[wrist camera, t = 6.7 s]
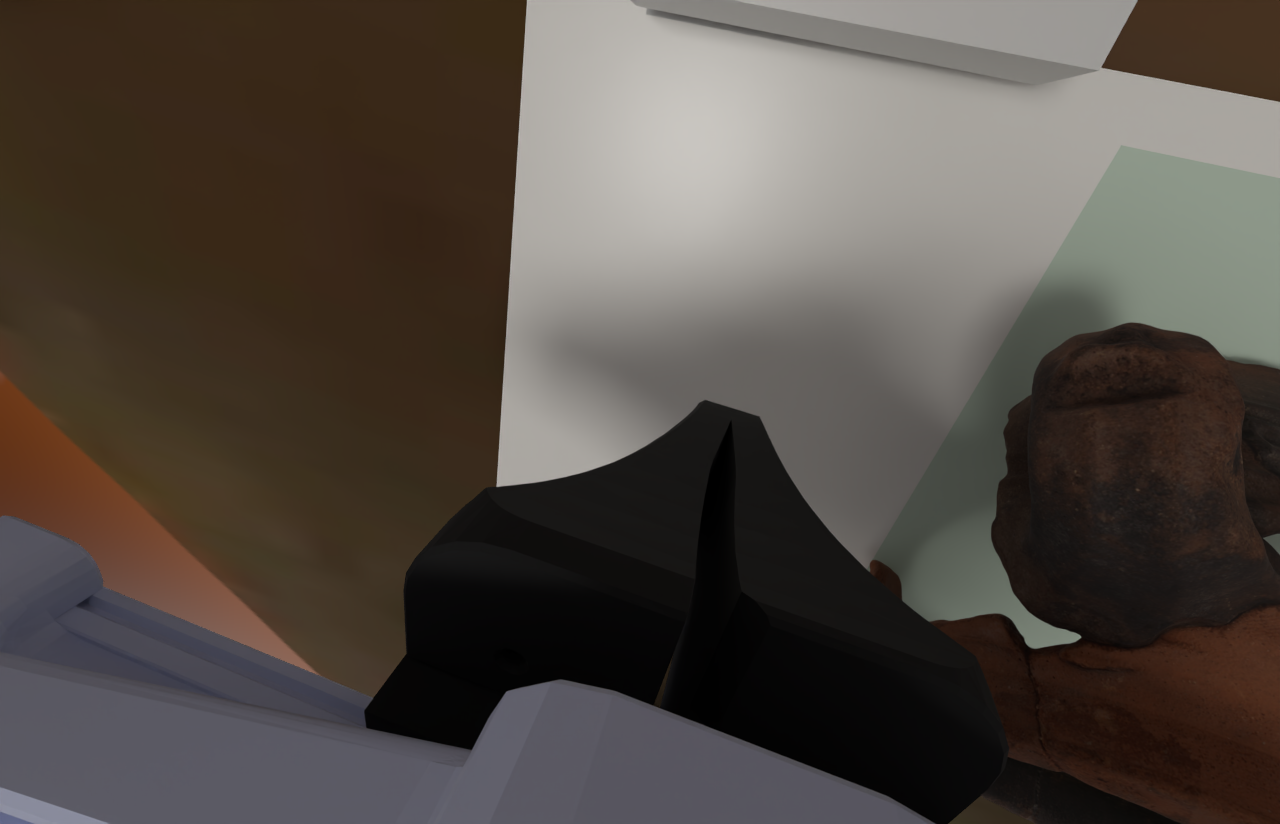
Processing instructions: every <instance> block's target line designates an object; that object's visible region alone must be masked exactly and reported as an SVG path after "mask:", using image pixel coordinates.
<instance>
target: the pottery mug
mask: <svg viewBox="0 0 1280 824" xmlns="http://www.w3.org/2000/svg"><path fill="white" fill-rule="evenodd" d="M1008 419H1009V420H1008V423H1007V425H1006V426H1005V428H1004V431H1003V435H1004V439H1005V446H1006V450H1007V452H1006V457H1005V459H1006V463H1007V475H1006V476H1005V477H1004V478H1003V479H1002V480H1001V481H1000V482H999V484H998V490H997V497H996V498H997V507H996V517H995V519H994V521H993V523H992V526H991V540H992V543H993V547H994V549H995V551H996V553H997V554H998V556H999V558H1000V560H1001V562H1002V565H1003V567H1004V569H1005V571H1006V573H1007V575H1008V578H1009V582H1010V585H1011V588H1012V591H1013V593H1014V595H1015V596H1016V597H1017V598H1018V600H1019V601H1020V602H1021V604H1022V605H1023V606H1024V607H1025V608H1026V610H1027V611H1028V612H1029V613H1031V614H1032V615H1033V616H1035V617H1036V618H1038V619H1040V620H1041V621H1043V622H1045V623H1047V624H1049V625H1051V626H1053V627H1056V628H1060V629H1065V630H1068V631H1070V632H1074V633H1077V634H1079V635H1080V636H1081V638H1080V639H1079V640H1077V641H1076V642H1073V643H1069V644H1060V645H1053V646H1048V647H1042V648H1037V649H1034V648H1031V647H1029V646H1028V645H1027V644H1026V643H1025V639H1024V637H1023V636H1022V635H1021V634H1020V632H1019V631H1018V629H1017V627H1016V625H1015V624H1014V622H1013V621H1012V620H1011V619H1010V618H1008V617H1007V616H1005V615H1003V614H998V613H992V614H984V615H978V616H974V617H971V618H964V619H959V620H954V621H948V620H942V619H941V620H935V621H930V623H931V624H933V625H934V626H936V627H937V628H938V629H940V630H941V631H942V632H944V633H945V634H946V635H948V636H949V637H950V638H952V639H953V640H955V641H956V642H957V643H959V644H960V645H961V646H963V647H964V648H965V649H967V650H968V651H969V652H971V653H972V654H974V655H975V656H976V658H977V660H978V662H979V665H980V667H981V669H982V671H983V674H984V676H985V679H986V681H987V684H988V686H989V689H990V691H991V694H992V697H993V700H994V703H995V705H996V708H997V711H998V714H999V717H1000V719H1001V722H1002V725H1003V728H1004V732H1005V735H1006V739H1007V742H1008V746H1009V752H1008V757H1007V762H1006V767H1005V769H1004V770H1003V772H1002V773H1001V774H1000V776H999V777H998V778H997V779H996V781H995V782H994V783H993V784H992V786H991V787H990V788H989V789H988V790H986V791H985V792H984V793H983V794H982V795H981V796H982V797H984V798H985V799H987V800H989V801H991V802H994V803H996V804H997V805H999V806H1001V807H1003V808H1005V809H1006V810H1008V811H1010V812H1012V813H1014V814H1016V815H1018V816H1021V817H1023V818H1025V819H1027V820H1030V821H1032V822H1034V823H1036V824H1280V555H1279V553H1278V552H1277V551H1276V550H1275V549H1274V548H1273V547H1272V546H1271V545H1270V544H1269V543H1268V542H1267V541H1266V540H1265V539H1263V538H1265V537H1268V536H1271V535H1275V534H1280V369H1276V368H1272V367H1267V366H1263V365H1257V364H1244V363H1239V362H1235V361H1231V360H1226V359H1225V358H1224V357H1223V356H1222V355H1221V354H1220V353H1219V352H1218V351H1217V349H1216V348H1215V347H1214V346H1213V345H1212V344H1211V343H1210V342H1209V341H1207V340H1205V339H1203V338H1202V337H1199V336H1196V335H1193V334H1189V333H1184V332H1178V331H1170V330H1164V329H1160V328H1156V327H1153V326H1150V325H1146V324H1142V323H1134V322H1130V323H1125V324H1121V325H1118V326H1116V327H1113V328H1110V329H1107V330H1103V331H1098V332H1091V333H1084V334H1078V335H1075V336H1073V337H1071V338H1069V339H1067V340H1066V341H1065V342H1063V343H1062V344H1061V345H1060V346H1058V347H1057V348H1055V349H1053V350H1052V351H1050V352H1049V353H1048V354H1046V355H1045V356H1044V357H1043V358H1042V360H1041V361H1040V363H1039V365H1038V367H1037V369H1036V371H1035V373H1034V377H1033V384H1032V394H1031V395H1029V396H1028V397H1026V398H1025V399H1024V400H1022V401H1021V402H1019V403H1018V404H1016V405H1015V406H1014V407H1012V408H1011V409H1010V411H1009V413H1008ZM870 573H871V574H872V575H873V576H874V577H876V578H877V579H878V580H879V581H880V582H881V583H882V584H883V585H884V586H886V587H887V588H888V589H889V590H890V591H892V592H893V593H894V594H895V595H896V596H897V597H899V598H900V599H901V600H902V585H901V581H900V578H899V576H898V575H897V574H896V573H895V572H894V571H893V570H892V569H891V568H889V567H888V566H887V565H885V564H883V563H882V562H880V561H878V560H872V561H871V562H870Z"/></svg>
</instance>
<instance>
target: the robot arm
mask: <svg viewBox="0 0 1280 824" xmlns="http://www.w3.org/2000/svg"><path fill="white" fill-rule="evenodd" d="M404 611H405V632H406V652H407V654H406V655H405V657H404V658H403V659H402V661H401V662H400V663H399V665H398V666H397V667H396V669H395V670H394V671H393V673H392V674H391V675H390V677H389V678H388V679H387V681H386V682H385V683H384V685H383V686H382V687H381V689H380V690H379V691H378V693H377V694H376V695H375V697H374V698H372V697H370V696H367V695H365V694H362V693H360V692H358V691H355V690H353V689H350V688H348V687H346V686H343V685H341V684H338V683H336V682H333V681H331V680H329V679H326V678H324V677H321V676H319V675H316V674H314V673H312V672H309V671H307V670H304V669H302V668H299V667H297V666H294V665H292V664H290V663H287V662H285V661H282V660H280V659H278V658H275V657H273V656H270V655H268V654H265V653H263V652H260V651H258V650H255V649H253V648H251V647H249V646H246V645H243V644H241V643H239V642H236V641H234V640H231V639H229V638H227V637H224V636H222V635H219V634H217V633H215V632H212V631H210V630H207V629H205V628H202V627H200V626H198V625H195V624H193V623H190V622H188V621H185V620H183V619H181V618H178V617H176V616H173V615H171V614H168V613H166V612H163V611H161V610H158V609H156V608H154V607H151V606H149V605H147V604H144V603H142V602H139V601H137V600H135V599H132V598H130V597H127V596H125V595H122V594H120V593H117V592H115V591H113V590H110V589H108V588H105V587H103V579H102V576H101V573H100V570H99V568H98V566H97V564H96V562H95V561H94V559H93V558H92V557H91V555H90V554H89V553H88V552H87V551H86V550H85V549H84V548H83V547H81V546H80V545H79V544H77V543H76V542H74V541H72V540H70V539H69V538H66V537H64V536H61V535H59V534H56V533H54V532H51V531H49V530H46V529H44V528H42V527H39V526H37V525H34V524H32V523H29V522H27V521H24V520H22V519H19V518H17V517H13V516H2V517H0V824H948V823H949V822H950V821H952V820H953V819H954V818H955V817H956V816H957V815H959V814H960V813H961V812H962V811H963V810H964V809H966V808H967V807H968V806H969V805H970V804H971V803H973V802H974V801H975V800H976V799H977V798H978V797H979V796H981V795H982V794H983V793H984V792H985V791H986V790H988V789H989V788H990V787H991V786H992V784H993V783H994V782H995V781H996V779H997V778H998V777H999V776H1000V774H1001V773H1002V772H1003V770H1004V769H1005V767H1006V762H1007V757H1008V752H1009V746H1008V742H1007V739H1006V735H1005V732H1004V728H1003V725H1002V722H1001V719H1000V717H999V714H998V711H997V708H996V705H995V703H994V700H993V697H992V694H991V691H990V689H989V686H988V684H987V681H986V679H985V676H984V674H983V671H982V669H981V667H980V665H979V662H978V660H977V658H976V656H975V655H974V654H972V653H971V652H969V651H968V650H967V649H965V648H964V647H963V646H961V645H960V644H959V643H957V642H956V641H955V640H953V639H952V638H950V637H949V636H948V635H946V634H945V633H944V632H942V631H941V630H940V629H938V628H937V627H936V626H934V625H933V624H931V623H930V622H929V621H927V620H926V619H925V618H923V617H922V616H921V615H919V614H918V613H917V612H915V611H914V610H913V609H912V608H910V607H909V606H908V605H907V604H906V603H904V602H903V601H902V600H901V599H900V598H899V597H897V596H896V595H895V594H894V593H893V592H892V591H890V590H889V589H888V588H887V587H886V586H884V585H883V584H882V583H881V582H880V581H879V580H878V579H877V578H876V577H874V576H873V575H872V574H871V573H870V572H869V571H868V570H867V569H866V568H865V567H864V566H863V565H862V564H861V563H860V562H859V561H858V560H857V559H856V558H855V557H854V556H853V555H852V554H851V553H850V552H849V551H848V550H847V549H846V548H845V547H844V546H843V545H842V544H841V543H840V542H839V541H838V540H837V539H836V537H835V536H834V535H833V534H832V533H831V532H830V531H829V530H828V528H827V527H826V526H825V525H824V523H823V522H822V521H821V520H820V518H819V517H818V516H817V515H816V514H815V512H814V511H813V510H812V509H811V507H810V506H809V504H808V503H807V502H806V500H805V499H804V498H803V496H802V495H801V493H800V492H799V490H798V488H797V487H796V485H795V484H794V482H793V481H792V479H791V478H790V476H789V474H788V473H787V471H786V469H785V467H784V466H783V464H782V462H781V460H780V458H779V456H778V454H777V452H776V450H775V448H774V446H773V444H772V442H771V440H770V438H769V436H768V433H767V431H766V429H765V427H764V425H763V422H762V420H761V418H760V416H757V415H753V414H750V413H747V412H744V411H740V410H737V409H734V408H730V407H727V406H724V405H721V404H717V403H714V402H711V401H708V400H704V401H702V402H699V403H698V405H697V406H696V407H695V409H694V410H693V411H692V412H691V413H690V414H689V415H687V416H686V417H685V418H684V419H683V420H682V421H680V422H679V423H678V424H677V425H675V426H674V427H673V428H672V429H670V430H669V431H668V432H666V433H665V434H663V435H662V436H660V437H659V438H657V439H656V440H654V441H653V442H651V443H649V444H648V445H646V446H645V447H643V448H641V449H639V450H638V451H636V452H634V453H632V454H630V455H628V456H626V457H624V458H621V459H619V460H617V461H615V462H612V463H610V464H607V465H604V466H601V467H598V468H595V469H592V470H589V471H586V472H583V473H579V474H575V475H571V476H567V477H563V478H558V479H553V480H548V481H542V482H536V483H527V484H518V485H509V486H500V487H487V488H485V489H484V490H483V491H482V492H481V493H480V494H478V495H477V496H476V497H475V498H474V499H473V500H472V501H470V502H469V503H468V504H467V505H465V506H464V507H463V508H462V509H461V510H460V511H459V512H458V513H457V514H456V515H454V516H453V517H452V518H451V519H450V520H449V521H448V522H447V523H446V525H445V526H444V527H443V528H442V529H441V530H440V531H439V532H438V533H437V535H436V536H435V537H434V538H433V539H432V540H431V541H430V542H429V543H428V545H427V546H426V547H425V548H424V549H423V550H422V551H421V552H420V553H419V555H418V556H417V557H416V558H415V559H414V561H413V563H412V564H411V566H410V567H409V569H408V571H407V572H406V577H405V584H404ZM673 653H674V655H673ZM672 655H673V659H672V663H671V667H670V671H669V675H668V679H667V683H666V687H665V690H664V694H663V698H662V702H661V706H660V708H658V707H655V706H653V704H654V702H655V699H656V697H657V694H658V691H659V689H660V686H661V684H662V681H663V679H664V676H665V673H666V671H667V668H668V666H669V663H670V661H671V658H672Z"/></svg>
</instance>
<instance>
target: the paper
mask: <svg viewBox="0 0 1280 824" xmlns="http://www.w3.org/2000/svg"><path fill="white" fill-rule="evenodd" d="M646 10H647V8H644V7H639V6H636V5H635V4H634V3H633V2H631V1H630V0H527V11H526V27H525V43H524V59H523V75H522V91H521V107H520V122H519V138H518V154H517V170H516V186H515V202H514V218H513V234H512V250H511V266H510V282H509V298H508V314H507V330H506V346H505V362H504V378H503V394H502V410H501V426H500V442H499V458H498V474H497V487H500V486H509V485H518V484H527V483H536V482H542V481H548V480H553V479H558V478H563V477H567V476H571V475H575V474H579V473H583V472H586V471H589V470H592V469H595V468H598V467H601V466H604V465H607V464H610V463H612V462H615V461H617V460H619V459H621V458H624V457H626V456H628V455H630V454H632V453H634V452H636V451H638V450H639V449H641V448H643V447H645V446H646V445H648V444H649V443H651V442H653V441H654V440H656V439H657V438H659V437H660V436H662V435H663V434H665V433H666V432H668V431H669V430H670V429H672V428H673V427H674V426H675V425H677V424H678V423H679V422H680V421H682V420H683V419H684V418H685V417H686V416H687V415H689V414H690V413H691V412H692V411H693V410H694V409H695V407H696V406H697V405H698V403H699V402H702V401H704V400H708V401H711V402H714V403H717V404H721V405H724V406H727V407H730V408H734V409H737V410H740V411H744V412H747V413H750V414H753V415H757V416H760V418H761V420H762V422H763V425H764V427H765V429H766V431H767V433H768V436H769V438H770V440H771V442H772V444H773V446H774V448H775V450H776V452H777V454H778V456H779V458H780V460H781V462H782V464H783V466H784V467H785V469H786V471H787V473H788V474H789V476H790V478H791V479H792V481H793V482H794V484H795V485H796V487H797V488H798V490H799V492H800V493H801V495H802V496H803V498H804V499H805V500H806V502H807V503H808V504H809V506H810V507H811V509H812V510H813V511H814V512H815V514H816V515H817V516H818V517H819V518H820V520H821V521H822V522H823V523H824V525H825V526H826V527H827V528H828V530H829V531H830V532H831V533H832V534H833V535H834V536H835V537H836V539H837V540H838V541H839V542H840V543H841V544H842V545H843V546H844V547H845V548H846V549H847V550H848V551H849V552H850V553H851V554H852V555H853V556H854V557H855V558H856V559H857V560H858V561H859V562H860V563H861V564H862V565H863V566H864V567H865V568H866V569H867V570H868V571H869V572H870V562H871V561H872V560H878V561H880V562H882V563H883V564H885V565H887V566H888V567H889V568H891V569H892V570H893V571H894V572H895V573H896V574H897V575H898V576H899V578H900V581H901V585H902V601H903V602H904V603H906V604H907V605H908V606H909V607H910V608H912V609H913V610H914V611H915V612H917V613H918V614H919V615H921V616H922V617H923V618H925V619H926V620H927V621H929V622H930V621H935V620H941V619H942V620H948V621H954V620H959V619H964V618H971V617H974V616H978V615H984V614H992V613H998V614H1003V615H1005V616H1007V617H1008V618H1010V619H1011V620H1012V621H1013V622H1014V624H1015V625H1016V627H1017V629H1018V631H1019V632H1020V634H1021V635H1022V636H1023V637H1024V639H1025V643H1026V644H1027V645H1028V646H1029V647H1031V648H1034V649H1037V648H1042V647H1048V646H1053V645H1060V644H1069V643H1073V642H1076V641H1077V640H1079V639H1080V638H1081V636H1080V635H1079V634H1077V633H1074V632H1070V631H1068V630H1065V629H1060V628H1056V627H1053V626H1051V625H1049V624H1047V623H1045V622H1043V621H1041V620H1040V619H1038V618H1036V617H1035V616H1033V615H1032V614H1031V613H1029V612H1028V611H1027V610H1026V608H1025V607H1024V606H1023V605H1022V604H1021V602H1020V601H1019V600H1018V598H1017V597H1016V596H1015V595H1014V593H1013V591H1012V588H1011V585H1010V582H1009V578H1008V575H1007V573H1006V571H1005V569H1004V567H1003V565H1002V562H1001V560H1000V558H999V556H998V554H997V553H996V551H995V549H994V547H993V543H992V540H991V526H992V523H993V521H994V519H995V517H996V507H997V498H996V497H997V490H998V484H999V482H1000V481H1001V480H1002V479H1003V478H1004V477H1005V476H1006V475H1007V463H1006V459H1005V457H1006V452H1007V450H1006V446H1005V439H1004V435H1003V431H1004V428H1005V426H1006V425H1007V423H1008V420H1009V419H1008V413H1009V411H1010V409H1011V408H1012V407H1014V406H1015V405H1016V404H1018V403H1019V402H1021V401H1022V400H1024V399H1025V398H1026V397H1028V396H1029V395H1031V394H1032V384H1033V377H1034V373H1035V371H1036V369H1037V367H1038V365H1039V363H1040V361H1041V360H1042V358H1043V357H1044V356H1045V355H1046V354H1048V353H1049V352H1050V351H1052V350H1053V349H1055V348H1057V347H1058V346H1060V345H1061V344H1062V343H1063V342H1065V341H1066V340H1067V339H1069V338H1071V337H1073V336H1075V335H1078V334H1084V333H1091V332H1098V331H1103V330H1107V329H1110V328H1113V327H1116V326H1118V325H1121V324H1125V323H1130V322H1134V323H1142V324H1146V325H1150V326H1153V327H1156V328H1160V329H1164V330H1170V331H1178V332H1184V333H1189V334H1193V335H1196V336H1199V337H1202V338H1203V339H1205V340H1207V341H1209V342H1210V343H1211V344H1212V345H1213V346H1214V347H1215V348H1216V349H1217V351H1218V352H1219V353H1220V354H1221V355H1222V356H1223V357H1224V358H1225V359H1226V360H1231V361H1235V362H1239V363H1244V364H1257V365H1263V366H1267V367H1272V368H1276V369H1280V102H1277V101H1272V100H1266V99H1261V98H1256V97H1251V96H1245V95H1240V94H1235V93H1230V92H1225V91H1219V90H1214V89H1209V88H1204V87H1198V86H1193V85H1188V84H1183V83H1177V82H1172V81H1167V80H1162V79H1156V78H1151V77H1146V76H1141V75H1136V74H1130V73H1125V72H1120V71H1115V70H1109V69H1104V68H1100V70H1099V71H1096V72H1091V73H1087V74H1083V75H1078V76H1074V77H1070V78H1066V79H1061V80H1057V81H1053V82H1048V83H1044V84H1040V85H1032V84H1027V83H1021V82H1017V81H1012V80H1007V79H1002V78H1000V79H999V78H997V77H992V76H987V75H982V74H977V73H972V72H967V71H962V70H957V69H951V68H946V67H941V66H936V65H931V64H926V63H921V62H916V61H911V60H906V59H901V58H896V57H891V56H886V55H881V54H878V55H877V54H876V53H873V54H872V53H871V52H870V53H868V52H866V51H861V50H858V51H857V50H856V49H851V48H844V47H840V46H835V45H832V46H831V45H830V44H829V45H828V44H825V43H820V42H815V41H810V40H805V39H804V40H803V39H800V38H795V37H794V38H795V39H793V38H792V37H791V38H790V39H791V40H790V41H789V43H787V42H788V40H789V36H788V37H786V36H784V35H783V36H782V35H780V34H779V35H778V36H777V35H776V34H773V33H772V34H771V33H769V32H766V33H768V34H766V35H767V36H766V35H763V34H764V33H762V34H758V35H759V36H758V35H757V31H755V30H754V29H753V30H751V29H747V30H745V31H748V32H750V31H749V30H751V31H752V32H750V33H753V31H755V32H756V33H754V34H753V35H754V36H752V34H750V33H746V32H744V30H743V31H742V29H738V28H739V26H738V28H737V26H735V27H736V29H738V30H740V31H742V33H743V32H744V33H745V34H742V33H738V32H740V31H738V30H735V29H734V30H735V31H738V32H735V31H731V30H732V28H734V27H731V29H730V25H729V26H728V25H727V27H729V28H727V29H730V31H727V30H726V29H725V30H724V27H723V28H722V29H723V30H722V29H721V28H719V27H722V26H719V27H717V28H719V29H716V27H713V26H711V25H710V26H711V27H713V28H711V27H707V26H704V23H703V25H702V24H701V25H702V26H701V25H700V24H698V25H697V23H696V24H693V23H686V22H681V21H676V20H672V18H673V17H672V18H671V17H670V18H671V19H666V18H665V17H664V18H661V16H660V17H659V16H658V17H656V16H651V15H646ZM650 10H651V9H650ZM653 11H654V10H653ZM658 11H659V10H658ZM647 13H648V12H647ZM649 13H650V12H649ZM665 13H666V12H665ZM665 13H664V14H665ZM651 14H652V13H651ZM653 14H654V13H653ZM661 14H662V13H661ZM657 15H658V13H657ZM666 15H667V14H666ZM668 15H669V14H668ZM670 15H671V13H670ZM673 15H675V14H673ZM673 15H672V16H673ZM676 15H677V14H676ZM662 16H663V15H662ZM677 16H678V15H677ZM680 16H681V15H680ZM667 17H668V16H667ZM683 17H684V16H683ZM685 17H686V16H685ZM668 18H669V17H668ZM679 18H680V19H682V18H681V17H679ZM693 18H694V17H693ZM673 19H674V18H673ZM675 19H677V18H675ZM680 19H679V20H680ZM689 19H691V20H692V18H689ZM697 19H699V18H697ZM691 20H690V21H691ZM693 20H695V19H693ZM702 20H704V19H701V20H699V21H701V22H703V21H702ZM683 21H684V20H683ZM688 21H689V20H688ZM688 21H687V22H688ZM696 21H697V20H696ZM696 21H695V22H696ZM705 21H706V20H705ZM697 22H698V21H697ZM712 22H714V21H712ZM699 23H700V22H699ZM709 23H710V22H709V21H708V26H709ZM714 23H715V22H714ZM710 24H712V23H710ZM717 24H719V23H717V22H716V25H715V24H712V25H715V26H717ZM706 25H707V24H706ZM721 25H722V24H721ZM723 26H725V25H723ZM732 26H734V25H732ZM725 28H726V27H725ZM740 28H742V27H740ZM743 29H746V28H745V27H744V28H743ZM759 31H760V30H759ZM759 31H758V32H759ZM761 32H765V31H760V32H759V33H761ZM748 34H750V35H748ZM755 34H756V35H757V36H756V35H755ZM769 34H770V35H771V36H774V35H776V36H774V37H770V35H769ZM760 35H761V36H762V35H763V37H761V36H760ZM764 36H766V37H767V38H766V37H764ZM779 36H780V37H779ZM768 37H769V38H770V39H769V38H768ZM776 37H778V39H777V40H772V39H771V38H773V39H776ZM785 37H786V38H788V39H786V38H785ZM779 38H780V39H779ZM785 39H786V40H785ZM796 39H797V40H796ZM798 39H799V40H798ZM780 40H781V41H780ZM784 40H785V42H784ZM792 40H793V42H792ZM795 40H796V41H799V42H800V41H801V42H802V43H801V42H800V43H801V44H800V45H799V42H795V43H794V41H795ZM802 40H803V41H802ZM782 41H783V42H782ZM803 42H804V45H805V46H803ZM807 42H809V45H807ZM805 43H806V44H805ZM812 44H813V45H812ZM820 44H821V46H819V45H820ZM807 46H810V47H807ZM811 46H812V47H811ZM815 46H816V47H815ZM824 46H825V47H824ZM814 47H815V48H814ZM819 47H820V49H819ZM822 47H823V48H822ZM824 48H825V49H824ZM827 48H828V49H827ZM843 48H844V49H845V50H844V49H843ZM822 49H823V50H822ZM830 49H831V50H830ZM849 49H850V50H851V51H849ZM839 50H840V51H839ZM841 50H842V51H841ZM846 50H847V51H846ZM853 50H854V51H853ZM855 50H856V52H855ZM837 51H839V52H837ZM845 51H846V52H845ZM862 52H863V53H862ZM849 53H852V54H850V55H848V54H849ZM853 53H855V55H854V54H853ZM860 54H861V55H860ZM864 54H865V55H864ZM858 55H859V56H858ZM866 55H867V56H866ZM876 56H877V57H876ZM873 58H874V59H875V60H874V59H873ZM895 61H896V62H895ZM912 62H913V63H912ZM896 63H897V64H896ZM914 65H915V67H914ZM908 66H909V67H908ZM930 70H931V71H930ZM1263 539H1265V540H1266V541H1267V542H1268V543H1269V544H1270V545H1271V546H1272V547H1273V548H1274V549H1275V550H1276V551H1277V552H1278V553H1279V555H1280V534H1275V535H1271V536H1268V537H1265V538H1263Z"/></svg>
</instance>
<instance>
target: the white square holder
mask: <svg viewBox="0 0 1280 824" xmlns="http://www.w3.org/2000/svg"><path fill="white" fill-rule="evenodd" d="M630 1H631V2H633V3H634V4H635V5H636V6H639V7H644V8H647V10H646V15H651V16H656V17H658V16H659V17H660V16H661V18H664V17H665V18H666V19H671V18H672V17H673V18H674V19H673V18H672V20H676V21H681V22H686V23H693V24H696V23H697V25H698V24H700V25H701V24H702V25H703V23H704V26H707V27H711V26H713V27H716V29H719V28H721V29H722V28H723V27H724V30H725V29H726V30H727V31H730V29H731V27H734V28H732V30H731V31H735V30H738V29H742V31H743V30H744V32H746V33H750V32H752V31H751V30H753V29H754V30H755V31H757V35H758V34H762V33H764V34H763V35H766V34H768V33H766V32H769V33H771V34H772V33H773V34H776V35H777V36H778V35H779V34H780V35H782V36H783V35H784V36H786V37H788V36H789V40H788V42H787V43H789V41H790V40H791V39H790V38H791V37H792V38H793V39H795V38H800V39H803V40H804V39H805V40H810V41H815V42H820V43H825V44H828V45H829V44H830V45H831V46H832V45H835V46H840V47H844V48H851V49H856V50H857V51H858V50H861V51H866V52H868V53H870V52H871V53H872V54H873V53H876V54H877V55H878V54H881V55H886V56H891V57H896V58H901V59H906V60H911V61H916V62H921V63H926V64H931V65H936V66H941V67H946V68H951V69H957V70H962V71H967V72H972V73H977V74H982V75H987V76H992V77H997V78H999V79H1000V78H1002V79H1007V80H1012V81H1017V82H1021V83H1027V84H1032V85H1040V84H1044V83H1048V82H1053V81H1057V80H1061V79H1066V78H1070V77H1074V76H1078V75H1083V74H1087V73H1091V72H1096V71H1099V70H1100V68H1101V67H1102V65H1103V63H1104V61H1105V59H1106V57H1107V55H1108V54H1109V52H1110V50H1111V48H1112V46H1113V44H1114V43H1115V41H1116V39H1117V37H1118V35H1119V33H1120V32H1121V30H1122V28H1123V26H1124V24H1125V22H1126V21H1127V19H1128V17H1129V15H1130V13H1131V11H1132V10H1133V8H1134V6H1135V4H1136V2H1137V0H630ZM650 9H651V10H650ZM653 10H654V11H653ZM658 10H659V11H658ZM647 12H648V13H647ZM649 12H650V13H649ZM665 12H666V13H665ZM651 13H652V14H651ZM653 13H654V14H653ZM657 13H658V15H657ZM661 13H662V14H661ZM664 13H665V14H664ZM670 13H671V15H670ZM666 14H667V15H666ZM668 14H669V15H668ZM673 14H675V15H673ZM676 14H677V15H678V16H677V15H676ZM662 15H663V16H662ZM672 15H673V16H672ZM680 15H681V16H680ZM667 16H668V17H669V18H668V17H667ZM683 16H684V17H683ZM685 16H686V17H685ZM670 17H671V18H670ZM679 17H681V18H682V19H680V18H679ZM693 17H694V18H693ZM675 18H677V19H675ZM689 18H692V20H691V19H689ZM697 18H699V19H697ZM679 19H680V20H679ZM693 19H695V20H693ZM701 19H704V20H702V21H703V22H701V21H699V20H701ZM683 20H684V21H683ZM688 20H689V21H688ZM690 20H691V21H690ZM696 20H697V21H698V22H697V21H696ZM705 20H706V21H705ZM687 21H688V22H687ZM695 21H696V22H695ZM708 21H709V22H710V23H712V24H715V25H716V22H717V23H719V24H717V26H715V25H712V24H710V23H709V26H708ZM712 21H714V22H715V23H714V22H712ZM699 22H700V23H699ZM706 24H707V25H706ZM721 24H722V25H721ZM702 25H701V26H702ZM710 25H711V26H710ZM723 25H725V26H723ZM727 25H728V26H729V25H730V29H727V28H729V27H727ZM732 25H734V26H732ZM719 26H722V27H719ZM735 26H737V28H738V26H739V28H738V29H736V27H735ZM713 27H711V28H713ZM717 27H719V28H717ZM725 27H726V28H725ZM740 27H742V28H740ZM744 27H745V28H746V29H743V28H744ZM734 29H735V30H734ZM747 29H751V30H749V31H750V32H748V31H745V30H747ZM722 30H723V29H722ZM759 30H760V31H765V32H761V33H759V32H760V31H759ZM738 31H740V30H738ZM738 31H735V32H738ZM742 31H740V32H738V33H742ZM755 31H753V33H750V34H752V36H754V35H753V34H754V33H756V32H755ZM758 31H759V32H758ZM744 32H743V33H742V34H745V33H744ZM750 34H748V35H750ZM755 35H756V34H755ZM757 35H756V36H757ZM763 35H762V36H761V35H760V36H761V37H763ZM769 35H770V34H769ZM776 35H774V36H776ZM758 36H759V35H758ZM766 36H767V35H766ZM766 36H764V37H766ZM774 36H771V35H770V37H774ZM779 37H780V36H779ZM786 37H785V38H786ZM794 37H795V38H794ZM766 38H767V37H766ZM768 38H769V37H768ZM769 39H770V38H769ZM771 39H772V40H777V39H778V37H776V39H773V38H771ZM779 39H780V38H779ZM786 39H788V38H786ZM786 39H785V40H786ZM785 40H784V42H785ZM796 40H797V39H796ZM796 40H795V41H794V43H795V42H799V41H796ZM798 40H799V39H798ZM803 40H802V41H803ZM780 41H781V40H780ZM782 42H783V41H782ZM792 42H793V40H792ZM800 42H801V41H800ZM800 42H799V45H800V44H801V43H802V42H801V43H800ZM805 44H806V43H805ZM807 45H809V42H807ZM812 45H813V44H812ZM803 46H805V45H804V42H803ZM819 46H821V44H820V45H819ZM807 47H810V46H807ZM811 47H812V46H811ZM815 47H816V46H815ZM815 47H814V48H815ZM824 47H825V46H824ZM822 48H823V47H822ZM844 48H843V49H844ZM819 49H820V47H819ZM824 49H825V48H824ZM827 49H828V48H827ZM822 50H823V49H822ZM830 50H831V49H830ZM844 50H845V49H844ZM856 50H855V52H856ZM839 51H840V50H839ZM839 51H837V52H839ZM841 51H842V50H841ZM846 51H847V50H846ZM846 51H845V52H846ZM849 51H851V50H850V49H849ZM853 51H854V50H853ZM862 53H863V52H862ZM850 54H852V53H849V54H848V55H850ZM853 54H854V55H855V53H853ZM860 55H861V54H860ZM864 55H865V54H864ZM858 56H859V55H858ZM866 56H867V55H866ZM876 57H877V56H876ZM873 59H874V58H873ZM874 60H875V59H874ZM895 62H896V61H895ZM912 63H913V62H912ZM896 64H897V63H896ZM908 67H909V66H908ZM914 67H915V65H914ZM930 71H931V70H930Z"/></svg>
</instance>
